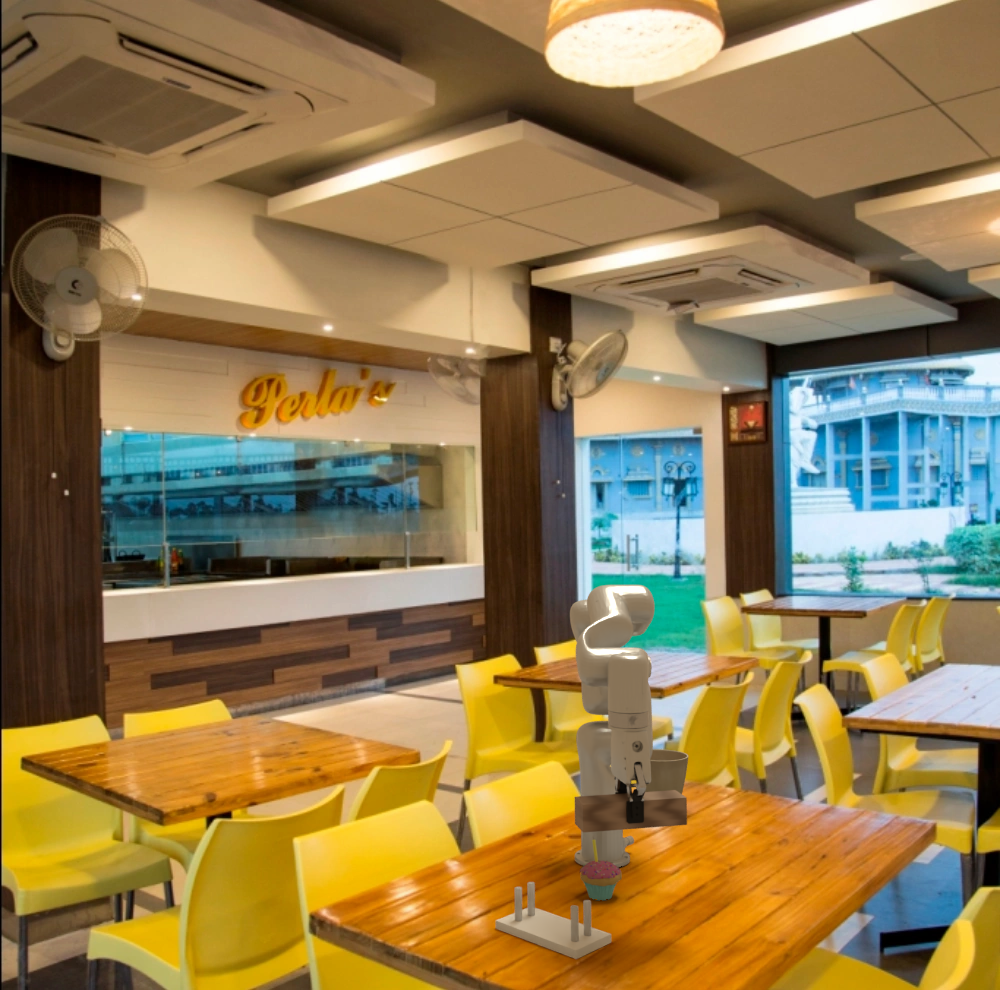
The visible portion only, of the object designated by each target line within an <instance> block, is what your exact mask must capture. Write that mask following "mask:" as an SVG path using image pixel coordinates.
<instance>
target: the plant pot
mask: <svg viewBox="0 0 1000 990" xmlns="http://www.w3.org/2000/svg"><path fill="white" fill-rule="evenodd" d="M688 762H689V755H688V753H685V752H683V751H678V750H672V749H671V750H670V749H653V751H652V756H651V758H650V764H651V783H650V784H646V790H645V792H654V791H669V790H676V791H678V792H679V793H681V794H682V795H683V790H684V787H685V783H686V776H687V772H688V770H687V769H688V765H689V764H688Z"/></svg>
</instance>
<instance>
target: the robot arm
mask: <svg viewBox="0 0 1000 990" xmlns="http://www.w3.org/2000/svg"><path fill="white" fill-rule="evenodd" d="M654 615H655V601H654V597H653V594H652V592H651V591H650V589H649V588H648V587H646V586H645V585H642V584H605V585H603V584H602V585H599V586H597V587H595V588H593V589H592V590H591V591H590V592H589V594H588V596H587V599H581V600H578V601H576V602H574V603H572V606H571V607H570V610H569V620H570V626H571V630H572V634H573V637H574V638H575V639H574V640H575V642H576V645H575V661H576V668H577V672H578V676H579V679H580V681H581V684H580V685H581V702H582V706H583V707H582V708H583V709H584V711H585V712H586V713H588V714H590V715H596V716H607V719H608V720H595V721H589V722H585V723H583V724H582V725H580V727H578V729H577V732H576V749H577V753H578V754H577V755H578V762H579V772H580V773H579V774H580V796H594V795H609V794H625V793H628V801H626V820H627V823H629V824H632V823H643V822H644V794H645V790H646V784H650V783H651V764H650V758H651V756H652V751H653V750H654V745H653V743H654V741H653V740H654V736H653V734H654V731H653V714H652V713H653V710H652V709H653V708H652V707H653V705H652V692H651V687H650V683H649V678H651V675H652V670H653V668H652V659H651V657H650V655H648V652H647V651H646V650H644V649H643V648H640V647H624V646H625V645H626V644H627V643H629V642H630V640H631V638H632V637H637V636H641V635H642V634H643V635H644V633H645V632H646V631H647V629H648V627H649V626H650V624H651V623H652V621H653V618H654ZM632 781H635V782H634V783H632ZM633 788H634V789H633ZM632 789H633V790H632ZM623 832H624V830H611V831H597V832H584V833H583V832H582V831H581V830H580V835H581V836H580V837H581V838H580V841H581V845H580V847H581V849H580V850H577V851H576V852H575V854H574V861H575V862H576V863H577V864H578V865H581V866H582V867H583V866H584V865H585V864H587V863H589V862H590V861H595V858H594V850H593V842H592V840H593V837H594V840H595V841H596V849H597V857H598V860H600V861H607V862H611V863H613V864H614V865H616V866H617V867H618V868H621V866H622V867H625V866H626V865H628V864H629V863H630V861H631V856H630V853H628V852H627V851H626V848H627V847H629V846H631V845H633V844H634V843H635V838H634V837H633V836H632V835H628V836H626V837H624V835H623V834H624V833H623Z"/></svg>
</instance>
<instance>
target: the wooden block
mask: <svg viewBox="0 0 1000 990" xmlns="http://www.w3.org/2000/svg"><path fill="white" fill-rule="evenodd" d="M626 801H628V793H625V794H609V795H594V796H581V795H580V796H574V824H575V825H576V827H577V828H578V829H579V830H580V832H581V831H582V832H583V833H584V832H597V831H611V830H623V831H624V830H633V829H637V830H638V829H649V828H661V827H663V828H664V827H674V826H675V827H676V826H687V825H688V810H687V809H688V806H687V805H688V803H687V801H688V800H687V797H686V796H685V795H683V793H682V794H681V793H679V792H678V791H676V790H669V791H654V792H645V794H644V822H643V823H632V824H629V823H627V820H626Z"/></svg>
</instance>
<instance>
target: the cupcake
mask: <svg viewBox="0 0 1000 990" xmlns="http://www.w3.org/2000/svg"><path fill="white" fill-rule="evenodd" d="M592 842H593V850H594V858H595V861H590V862H589V863H587V864H585V865H584V866H583V865H582V867H581V868H580V870H579V873H580V876H579V877H580V880H581V881H582V882H583V884H584V886H585V888H586V891H587V894H588V897H589V899H591V898H592V899H591V900H594V899H597V900H596V901H600V900H602V901H607V900H606V899H608V900H610V899H612V898H613V894H614V891H615V887H616V885H617V883H619V881H621V880H622V875H623V873H622V871H621V869H620V867H617V866H616V865H614V864H613V863H611V862H607V861H600V860H598V857H597V849H596V841H595V840H594V837H593V840H592Z"/></svg>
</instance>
